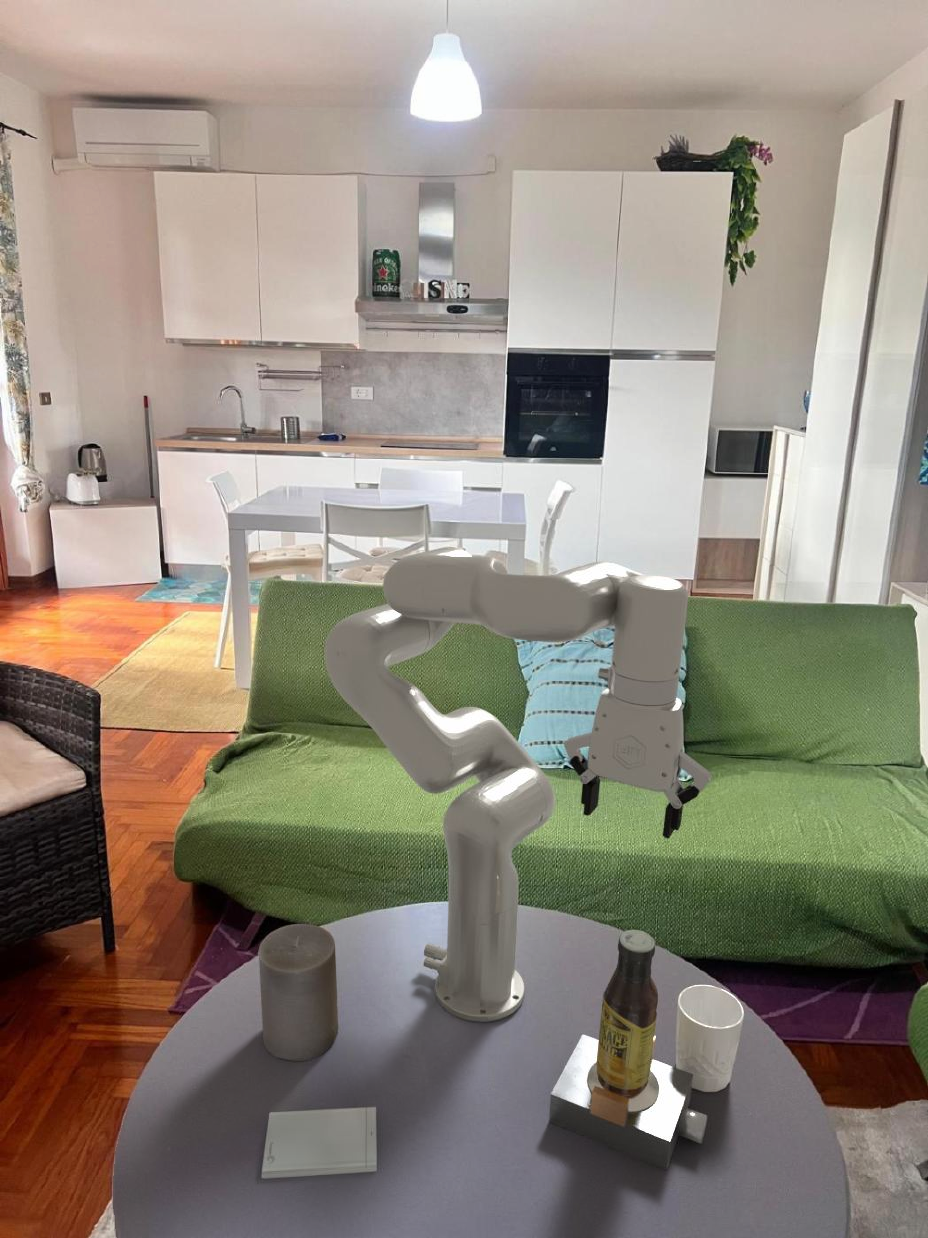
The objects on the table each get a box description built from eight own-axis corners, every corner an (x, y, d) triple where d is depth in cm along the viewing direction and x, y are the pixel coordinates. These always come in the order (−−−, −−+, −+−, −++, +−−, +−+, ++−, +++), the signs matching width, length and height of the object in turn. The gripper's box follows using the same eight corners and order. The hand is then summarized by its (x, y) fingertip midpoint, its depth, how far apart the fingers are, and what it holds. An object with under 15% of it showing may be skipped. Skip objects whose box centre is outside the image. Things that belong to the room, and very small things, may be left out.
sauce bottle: (585, 1070, 109) (594, 927, 103) (630, 1055, 111) (641, 915, 106) (615, 1110, 103) (626, 961, 98) (661, 1094, 106) (674, 948, 100)
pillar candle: (319, 1000, 125) (315, 906, 121) (350, 1044, 118) (348, 945, 113) (251, 1027, 120) (245, 929, 116) (280, 1075, 112) (274, 972, 108)
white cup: (737, 1102, 110) (746, 1033, 108) (671, 1090, 112) (678, 1022, 109) (732, 1055, 118) (741, 990, 115) (670, 1045, 119) (677, 980, 116)
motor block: (547, 1125, 106) (550, 1075, 104) (581, 1058, 117) (585, 1012, 115) (689, 1184, 99) (696, 1132, 97) (713, 1107, 109) (719, 1059, 108)
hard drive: (261, 1171, 98) (376, 1163, 99) (269, 1110, 106) (376, 1104, 107) (261, 1183, 98) (376, 1175, 100) (269, 1122, 106) (376, 1115, 108)
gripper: (559, 680, 103) (548, 815, 108) (712, 713, 95) (693, 857, 100) (583, 662, 109) (572, 790, 114) (728, 691, 102) (710, 828, 106)
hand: (629, 821), depth 107 cm, fingers open, 9 cm apart
